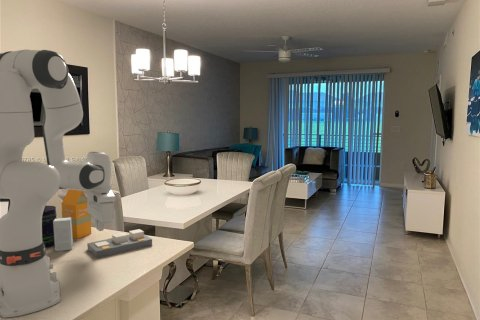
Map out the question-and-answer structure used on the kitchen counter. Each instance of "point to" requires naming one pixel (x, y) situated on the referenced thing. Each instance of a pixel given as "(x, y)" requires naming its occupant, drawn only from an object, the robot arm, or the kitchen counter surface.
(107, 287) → the kitchen counter surface
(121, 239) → the middle button
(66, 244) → the skincare box
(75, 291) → the kitchen counter surface
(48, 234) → the dark blue cylinder
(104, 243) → the near button
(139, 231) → the far button
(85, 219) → the orange juice
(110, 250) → the button panel
